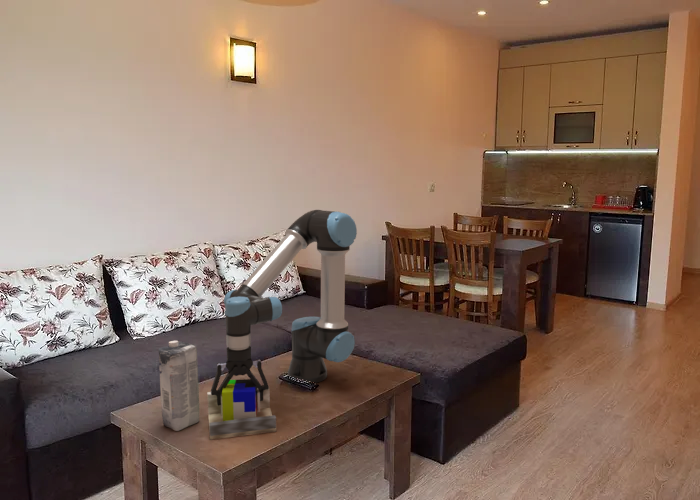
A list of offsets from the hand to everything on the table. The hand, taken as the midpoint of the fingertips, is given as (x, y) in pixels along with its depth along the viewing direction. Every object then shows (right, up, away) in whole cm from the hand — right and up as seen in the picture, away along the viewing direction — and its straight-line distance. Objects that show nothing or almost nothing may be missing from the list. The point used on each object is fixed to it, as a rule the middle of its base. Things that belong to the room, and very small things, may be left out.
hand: (240, 412), depth 187 cm
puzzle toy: (0, -1, 0) cm, 1 cm away
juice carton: (-19, -4, -1) cm, 19 cm away
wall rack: (0, -3, -1) cm, 3 cm away
